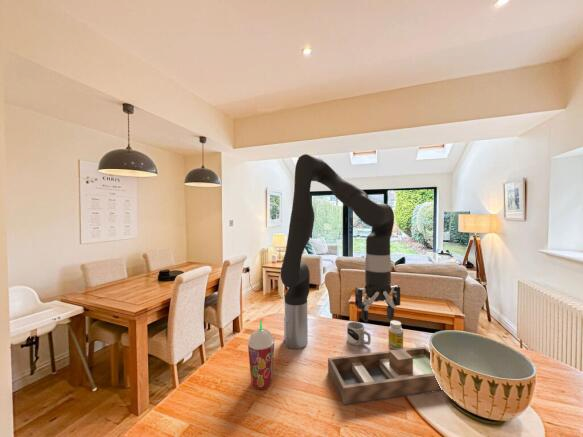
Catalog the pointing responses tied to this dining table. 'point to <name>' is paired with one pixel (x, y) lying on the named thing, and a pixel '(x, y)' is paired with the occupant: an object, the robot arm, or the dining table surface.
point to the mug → (357, 334)
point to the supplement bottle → (395, 335)
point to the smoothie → (261, 357)
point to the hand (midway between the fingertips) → (377, 319)
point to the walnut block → (401, 362)
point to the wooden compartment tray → (380, 376)
